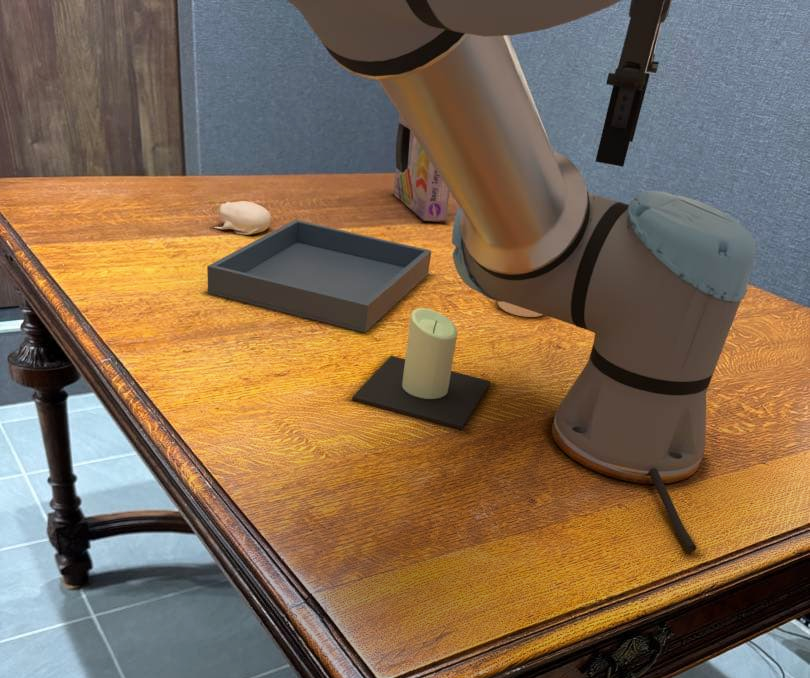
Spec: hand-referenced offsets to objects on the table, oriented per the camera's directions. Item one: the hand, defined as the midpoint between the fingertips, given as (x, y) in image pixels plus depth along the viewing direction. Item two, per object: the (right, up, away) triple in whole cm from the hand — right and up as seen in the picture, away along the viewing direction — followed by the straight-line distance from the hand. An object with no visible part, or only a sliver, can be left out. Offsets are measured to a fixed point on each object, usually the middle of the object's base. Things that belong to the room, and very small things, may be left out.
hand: (615, 151), depth 84 cm
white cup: (-6, -8, +29) cm, 30 cm away
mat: (-20, -24, +4) cm, 31 cm away
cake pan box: (-20, +20, +64) cm, 70 cm away
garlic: (-47, +8, +42) cm, 64 cm away
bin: (-33, -5, +27) cm, 43 cm away
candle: (-20, -24, +4) cm, 31 cm away
